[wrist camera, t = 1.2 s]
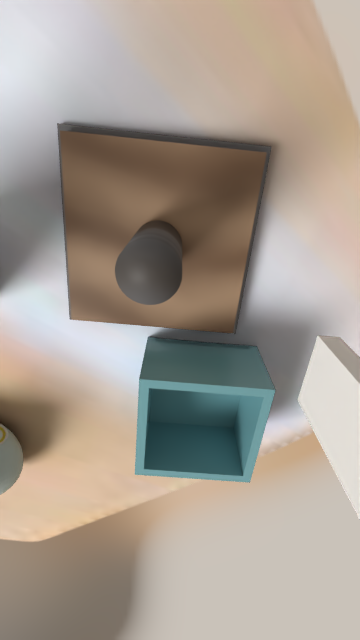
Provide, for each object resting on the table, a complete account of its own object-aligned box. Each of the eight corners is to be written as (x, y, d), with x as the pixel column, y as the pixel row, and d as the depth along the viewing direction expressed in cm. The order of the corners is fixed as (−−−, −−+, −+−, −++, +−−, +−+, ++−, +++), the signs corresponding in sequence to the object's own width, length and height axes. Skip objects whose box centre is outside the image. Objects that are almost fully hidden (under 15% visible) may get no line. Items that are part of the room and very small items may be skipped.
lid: (64, 132, 23) (1, 109, 15) (263, 153, 24) (306, 142, 16) (74, 314, 30) (33, 368, 21) (231, 328, 30) (249, 386, 22)
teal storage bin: (148, 337, 31) (139, 379, 25) (256, 346, 31) (275, 389, 25) (143, 421, 36) (134, 474, 29) (237, 428, 36) (249, 482, 30)
